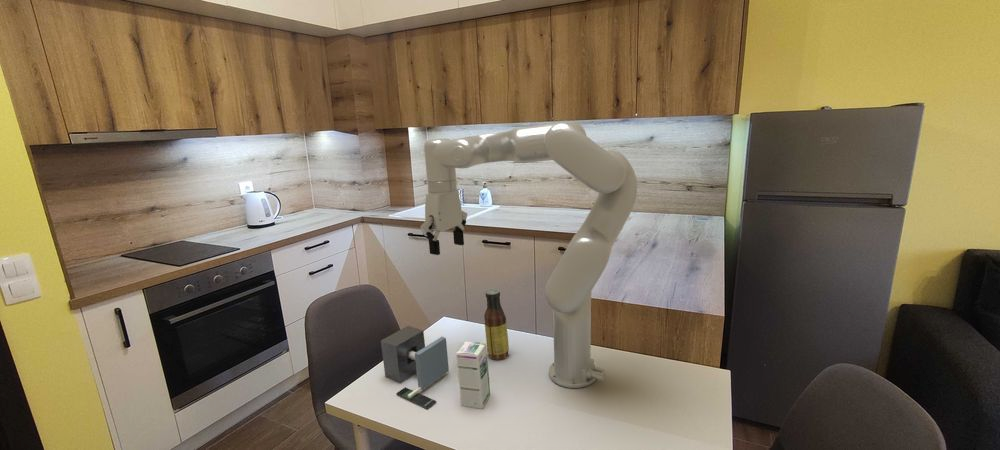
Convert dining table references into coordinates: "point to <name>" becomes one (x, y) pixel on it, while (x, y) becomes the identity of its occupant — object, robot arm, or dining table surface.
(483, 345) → the syrup box
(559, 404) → the dining table surface
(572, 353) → the robot arm
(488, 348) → the sauce bottle
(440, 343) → the blue-grey plate with rod
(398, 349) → the frame
